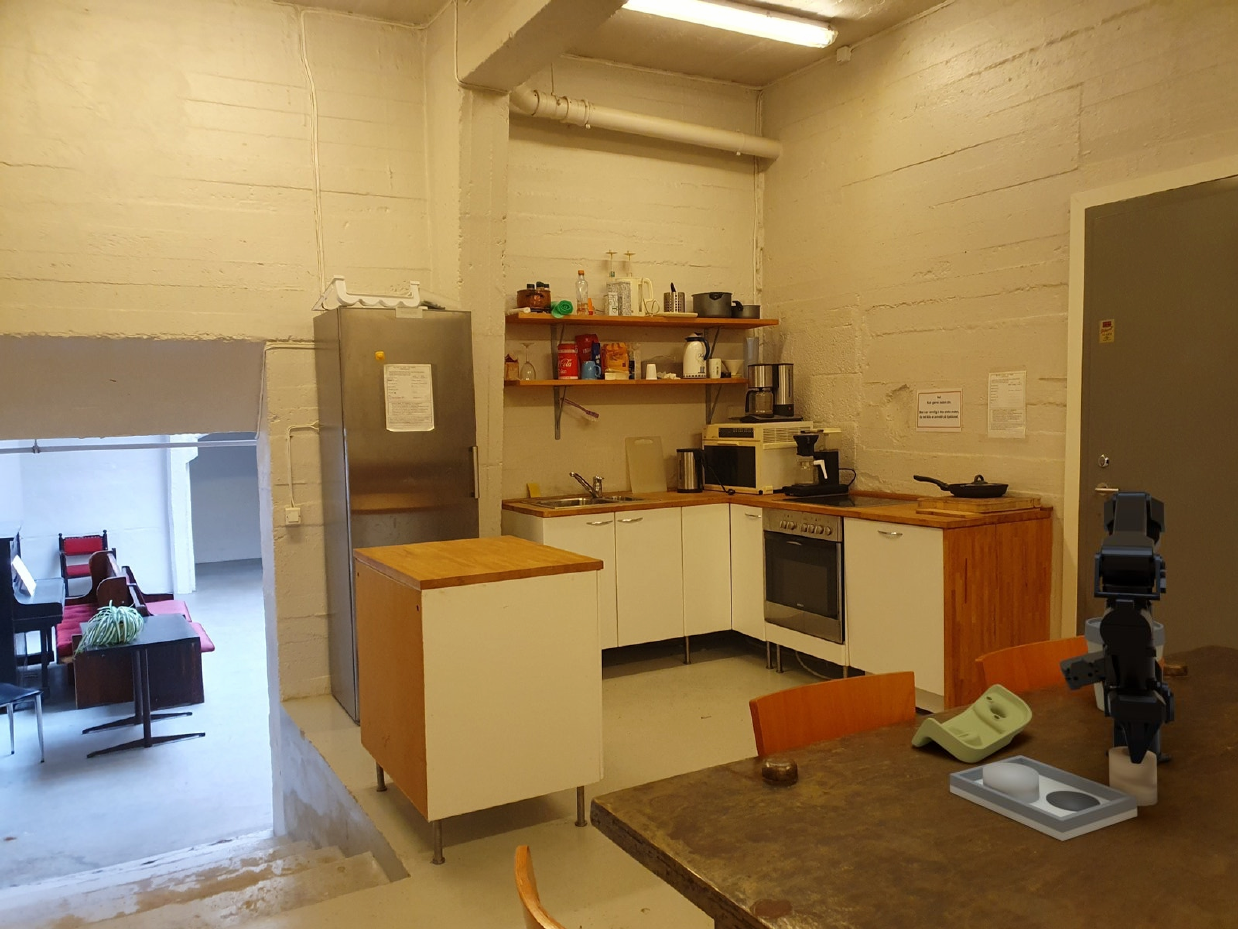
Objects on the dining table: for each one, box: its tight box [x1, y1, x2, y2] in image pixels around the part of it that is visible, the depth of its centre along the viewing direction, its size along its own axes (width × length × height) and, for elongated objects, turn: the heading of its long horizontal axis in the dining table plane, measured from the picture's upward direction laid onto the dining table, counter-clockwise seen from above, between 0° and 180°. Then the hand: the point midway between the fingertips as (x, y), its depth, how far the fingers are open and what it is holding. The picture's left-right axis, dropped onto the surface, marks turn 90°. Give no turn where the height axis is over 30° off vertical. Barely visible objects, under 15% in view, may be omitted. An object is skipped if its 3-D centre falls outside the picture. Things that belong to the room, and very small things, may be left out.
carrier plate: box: [949, 754, 1138, 842], centre depth 122 cm, size 14×18×4 cm
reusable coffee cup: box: [1083, 616, 1167, 712], centre depth 160 cm, size 13×13×15 cm
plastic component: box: [911, 684, 1033, 764], centre depth 147 cm, size 20×7×10 cm
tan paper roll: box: [1108, 746, 1158, 807], centre depth 123 cm, size 6×6×6 cm
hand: (1132, 751), depth 123 cm, fingers open, 9 cm apart
